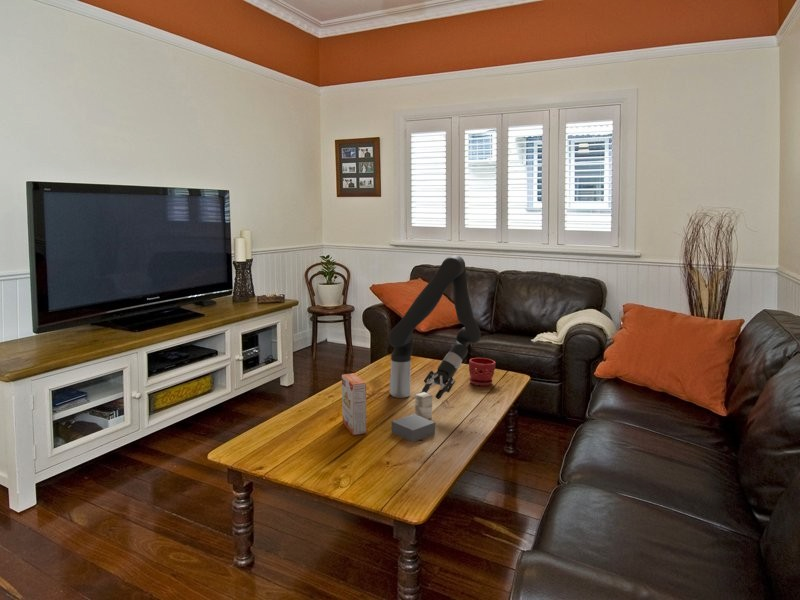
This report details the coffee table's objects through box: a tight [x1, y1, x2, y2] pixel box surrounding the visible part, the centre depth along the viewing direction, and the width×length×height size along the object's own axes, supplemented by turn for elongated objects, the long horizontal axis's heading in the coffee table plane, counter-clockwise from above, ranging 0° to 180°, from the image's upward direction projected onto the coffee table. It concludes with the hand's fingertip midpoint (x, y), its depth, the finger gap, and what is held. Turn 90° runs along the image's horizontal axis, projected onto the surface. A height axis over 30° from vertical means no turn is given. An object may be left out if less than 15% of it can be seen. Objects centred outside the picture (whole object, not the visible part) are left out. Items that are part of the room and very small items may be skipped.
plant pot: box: [468, 357, 496, 387], centre depth 276 cm, size 13×13×12 cm
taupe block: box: [414, 392, 433, 420], centre depth 230 cm, size 5×5×10 cm
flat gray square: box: [391, 413, 436, 443], centre depth 214 cm, size 12×12×5 cm
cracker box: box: [341, 373, 367, 436], centre depth 217 cm, size 14×6×21 cm, turn 23°
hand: (430, 395), depth 232 cm, fingers open, 8 cm apart
